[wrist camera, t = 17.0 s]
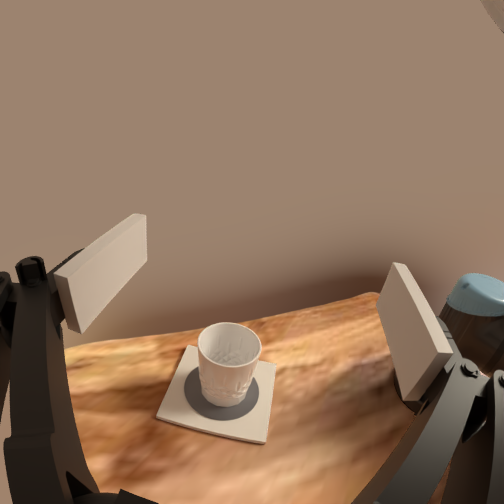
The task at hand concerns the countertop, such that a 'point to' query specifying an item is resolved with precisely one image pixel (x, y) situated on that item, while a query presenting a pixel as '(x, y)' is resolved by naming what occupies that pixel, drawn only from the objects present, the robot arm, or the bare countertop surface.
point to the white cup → (227, 362)
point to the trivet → (216, 417)
